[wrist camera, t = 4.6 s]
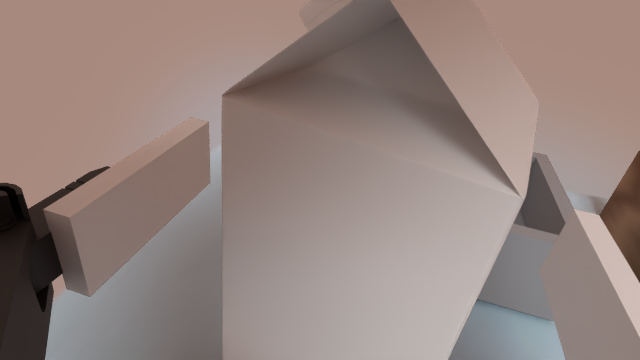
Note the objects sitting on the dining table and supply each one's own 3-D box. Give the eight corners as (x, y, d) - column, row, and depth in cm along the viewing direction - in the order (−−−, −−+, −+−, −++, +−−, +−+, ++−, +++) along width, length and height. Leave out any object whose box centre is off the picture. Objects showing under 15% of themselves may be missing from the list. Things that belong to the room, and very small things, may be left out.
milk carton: (420, 376, 20) (602, -41, 11) (369, 527, 15) (653, -60, 5) (303, 313, 23) (361, -73, 13) (221, 421, 17) (215, -108, 7)
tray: (378, 174, 37) (391, 120, 35) (520, 209, 35) (546, 155, 32) (349, 262, 27) (364, 194, 24) (553, 321, 24) (596, 254, 21)
